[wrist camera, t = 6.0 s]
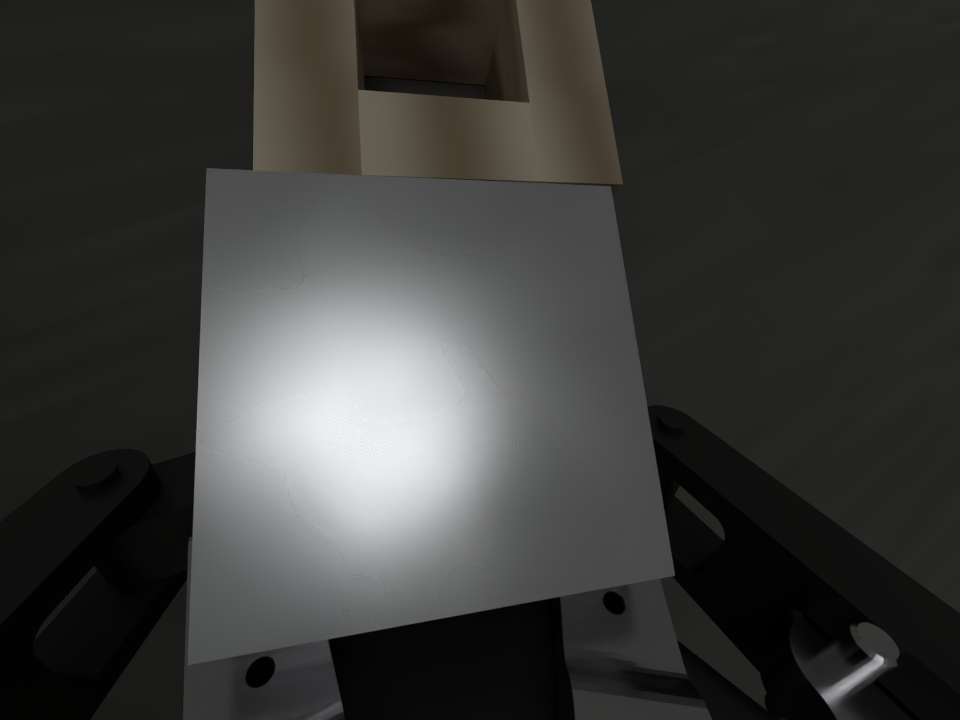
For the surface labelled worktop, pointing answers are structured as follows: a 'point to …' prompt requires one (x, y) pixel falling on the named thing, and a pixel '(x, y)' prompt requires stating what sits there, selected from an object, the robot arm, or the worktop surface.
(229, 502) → the grey square pillar
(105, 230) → the worktop surface
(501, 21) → the well block
